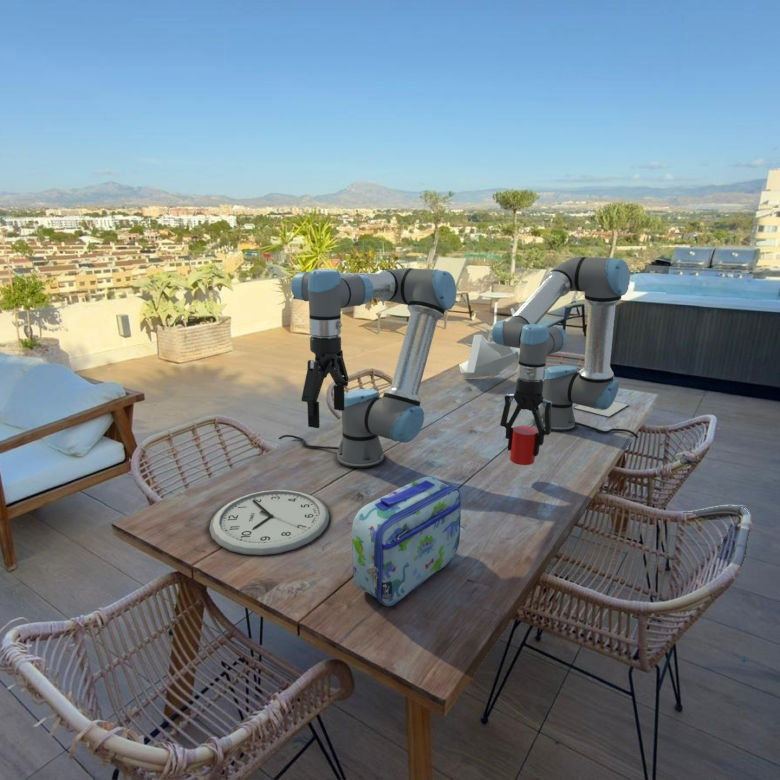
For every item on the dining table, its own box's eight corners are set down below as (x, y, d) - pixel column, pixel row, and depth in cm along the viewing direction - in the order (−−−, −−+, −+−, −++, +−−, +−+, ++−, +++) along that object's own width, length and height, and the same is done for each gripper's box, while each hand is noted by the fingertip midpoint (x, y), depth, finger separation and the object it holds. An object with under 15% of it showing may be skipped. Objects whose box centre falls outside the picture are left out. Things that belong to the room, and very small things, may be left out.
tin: (507, 462, 157) (510, 432, 154) (513, 453, 163) (515, 424, 160) (531, 467, 154) (534, 436, 151) (536, 458, 160) (539, 428, 157)
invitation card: (608, 416, 214) (573, 407, 224) (608, 416, 214) (573, 408, 224) (628, 404, 229) (594, 396, 238) (628, 405, 229) (594, 397, 238)
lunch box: (381, 619, 101) (382, 525, 95) (345, 592, 109) (344, 503, 102) (464, 563, 119) (469, 480, 113) (428, 543, 126) (432, 464, 120)
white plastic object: (480, 420, 263) (459, 397, 239) (461, 347, 286) (440, 319, 261) (551, 396, 251) (537, 369, 226) (526, 322, 273) (511, 290, 249)
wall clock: (327, 546, 121) (194, 551, 119) (327, 552, 122) (195, 557, 119) (330, 485, 150) (223, 488, 147) (330, 490, 150) (224, 493, 148)
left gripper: (313, 347, 114) (316, 437, 120) (361, 328, 136) (360, 405, 142) (283, 344, 116) (287, 432, 123) (335, 325, 138) (336, 401, 145)
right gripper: (492, 376, 152) (486, 449, 159) (563, 387, 143) (554, 463, 150) (500, 370, 158) (494, 440, 165) (569, 380, 149) (559, 454, 156)
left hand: (327, 418), depth 132 cm, fingers open, 13 cm apart
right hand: (523, 451), depth 157 cm, fingers closed on tin, 7 cm apart
